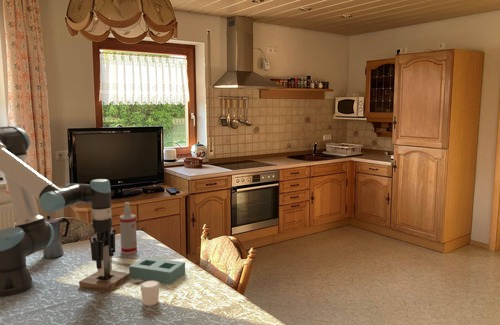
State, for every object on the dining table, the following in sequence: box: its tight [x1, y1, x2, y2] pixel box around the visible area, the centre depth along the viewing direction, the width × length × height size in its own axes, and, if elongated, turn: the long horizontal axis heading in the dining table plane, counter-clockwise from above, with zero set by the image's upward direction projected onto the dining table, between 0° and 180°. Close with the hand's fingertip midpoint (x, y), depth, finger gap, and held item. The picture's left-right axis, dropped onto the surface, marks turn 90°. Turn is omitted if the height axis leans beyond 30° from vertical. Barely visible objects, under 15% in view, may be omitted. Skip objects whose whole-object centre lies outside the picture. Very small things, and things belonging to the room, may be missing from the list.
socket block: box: [78, 269, 131, 293], centre depth 173 cm, size 14×14×2 cm
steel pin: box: [100, 244, 110, 281], centre depth 172 cm, size 4×4×16 cm
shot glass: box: [140, 280, 160, 306], centre depth 156 cm, size 7×7×7 cm
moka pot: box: [42, 215, 71, 259], centre depth 204 cm, size 10×15×20 cm, turn 115°
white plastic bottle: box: [119, 201, 138, 255], centre depth 209 cm, size 8×8×25 cm
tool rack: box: [128, 256, 186, 285], centre depth 180 cm, size 12×20×5 cm, turn 70°
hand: (104, 273), depth 173 cm, fingers closed on steel pin, 4 cm apart
